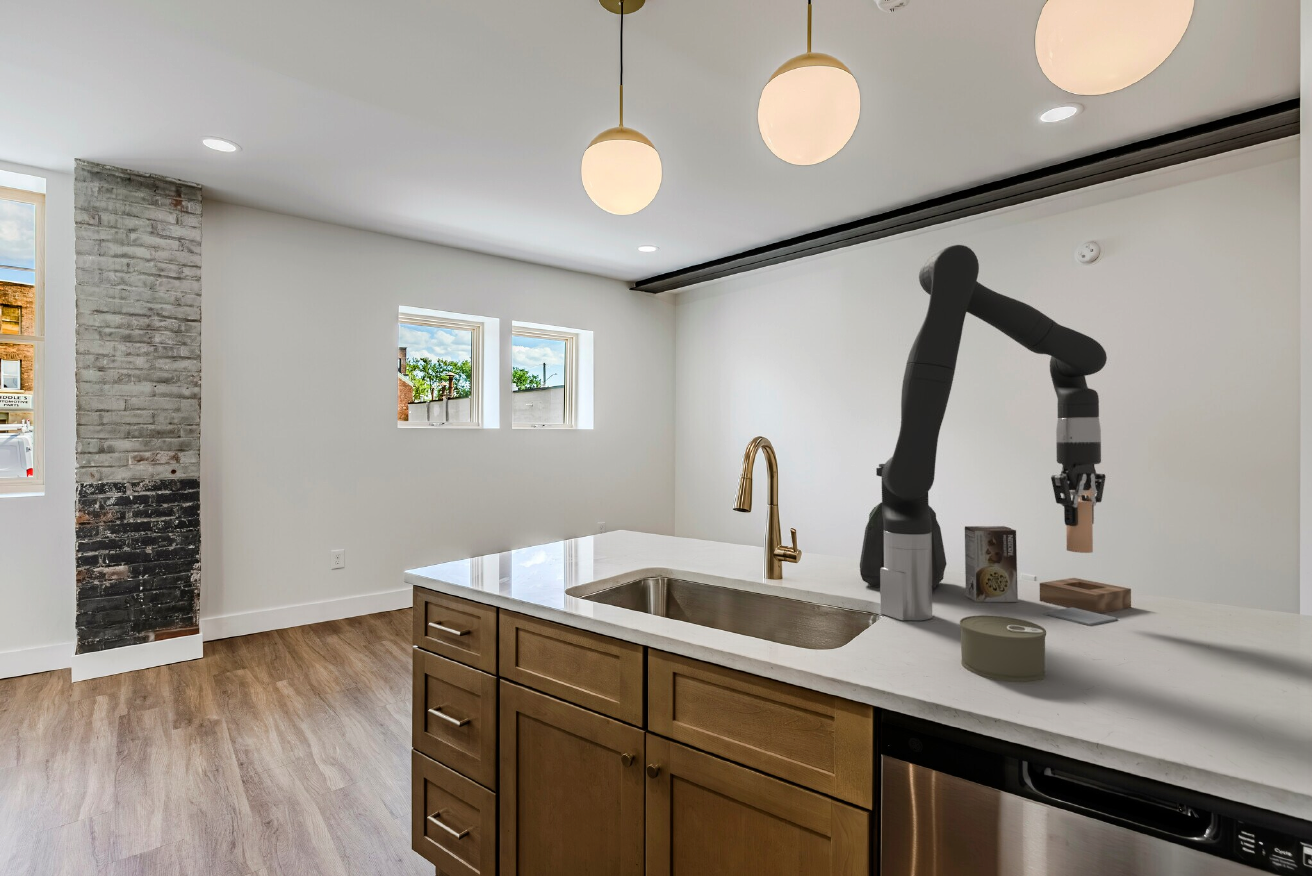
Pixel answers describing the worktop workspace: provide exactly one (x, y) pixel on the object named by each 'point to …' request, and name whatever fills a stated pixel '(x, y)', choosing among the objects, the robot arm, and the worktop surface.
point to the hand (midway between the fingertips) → (1079, 524)
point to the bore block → (1085, 595)
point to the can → (1003, 648)
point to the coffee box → (991, 564)
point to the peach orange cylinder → (1081, 530)
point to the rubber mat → (1080, 616)
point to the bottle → (875, 547)
